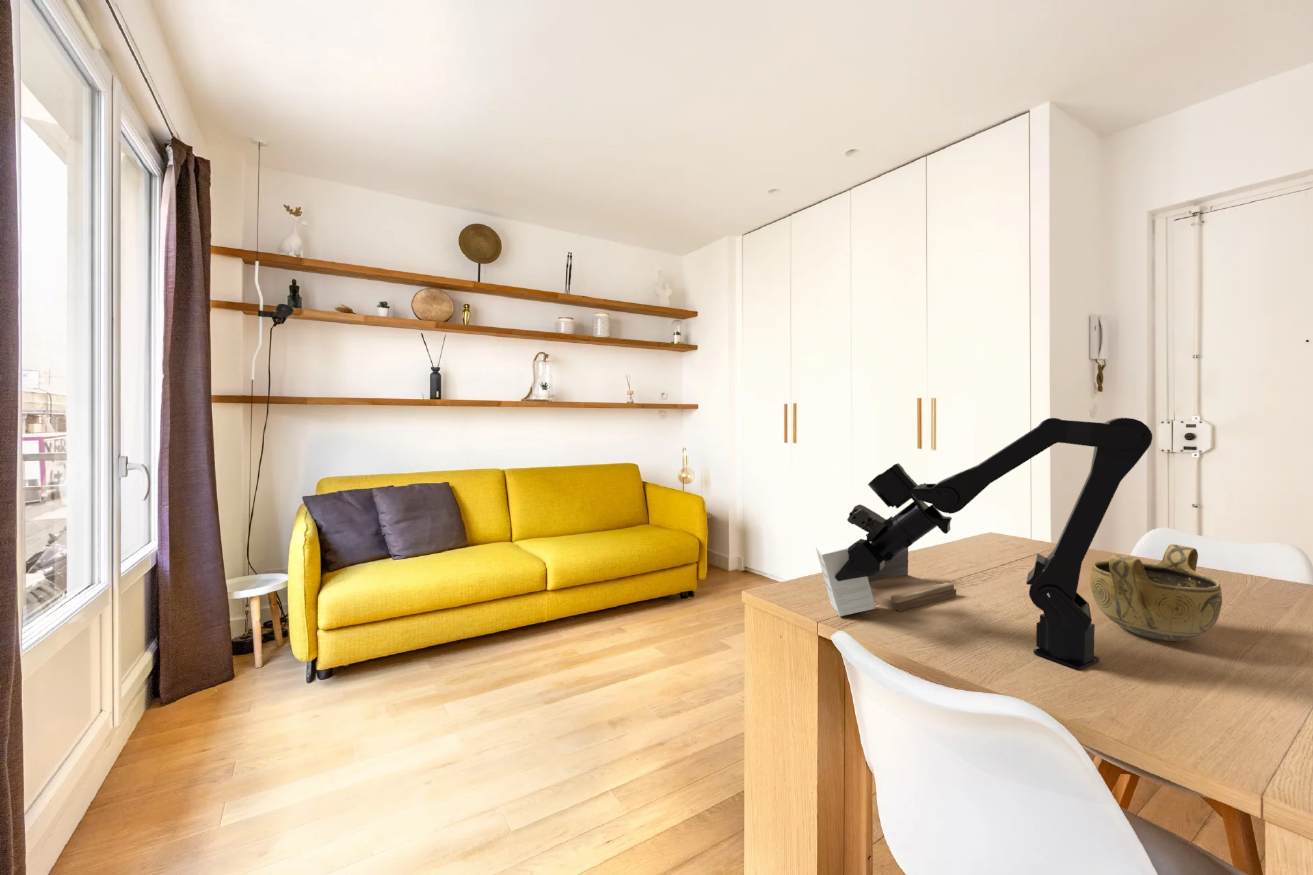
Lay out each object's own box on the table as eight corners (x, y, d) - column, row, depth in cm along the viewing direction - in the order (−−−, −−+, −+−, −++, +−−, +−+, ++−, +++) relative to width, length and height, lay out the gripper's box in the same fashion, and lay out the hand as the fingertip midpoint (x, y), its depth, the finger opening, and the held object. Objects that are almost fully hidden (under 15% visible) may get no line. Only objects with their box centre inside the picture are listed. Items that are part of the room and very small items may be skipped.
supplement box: (866, 597, 107) (850, 537, 108) (876, 609, 100) (859, 545, 100) (830, 605, 108) (814, 545, 109) (838, 617, 101) (821, 553, 101)
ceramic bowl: (1181, 666, 81) (1184, 570, 80) (1059, 626, 96) (1061, 545, 96) (1247, 640, 90) (1250, 553, 89) (1126, 607, 105) (1128, 533, 105)
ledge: (959, 595, 113) (959, 549, 112) (896, 612, 104) (896, 562, 103) (900, 577, 126) (900, 536, 125) (839, 590, 117) (840, 546, 116)
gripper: (887, 488, 108) (832, 532, 115) (862, 499, 93) (800, 549, 100) (928, 531, 104) (867, 575, 111) (908, 550, 89) (839, 599, 96)
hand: (844, 573), depth 105 cm, fingers closed on supplement box, 9 cm apart
